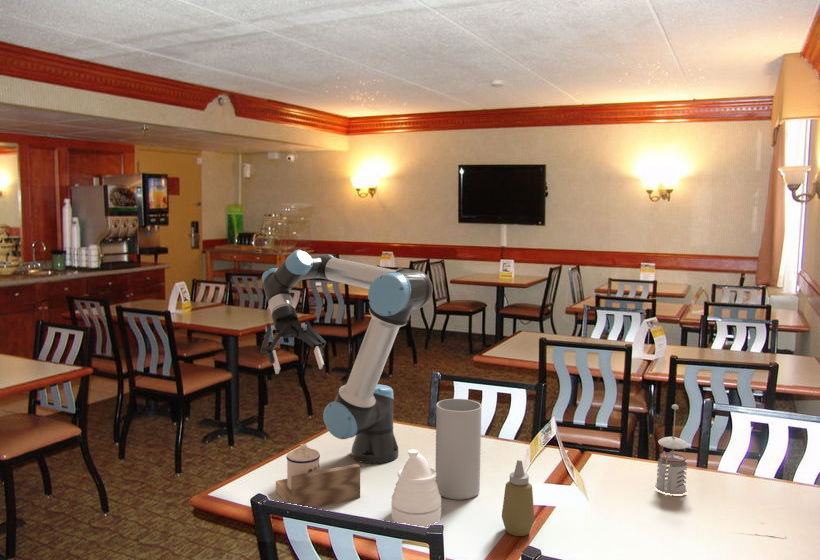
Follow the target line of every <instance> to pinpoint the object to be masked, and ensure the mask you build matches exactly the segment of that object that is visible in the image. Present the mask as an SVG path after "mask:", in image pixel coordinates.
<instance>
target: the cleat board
mask: <svg viewBox="0 0 820 560" xmlns="http://www.w3.org/2000/svg"><path fill="white" fill-rule="evenodd" d="M275 492H276V493H277V494H278V496H281V497H282V498H283V499H284V500H285V501H284V500H283V499H282V498H281V497H280V498H281V499H282V500H283V501H284V503H286V502H287V503H291V504H297V505H302V506H308V507H315V508H319V507H323V506H324V507H325V506H330V505H333V504H338V503H342V502H347V501H352V500H356V499H360V498H361V465H359V464H358V463H353V464H348V465H343V466H337V467H333V468H328V469H323V470H319V471H316V472H311V473H306V474H301V475H295V476H291V490H290V489H289V488H288V486H287V478H284V479H278V480H275ZM287 503H286V504H287ZM315 508H314V509H315Z"/></svg>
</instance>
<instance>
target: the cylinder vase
mask: <svg viewBox="0 0 820 560" xmlns="http://www.w3.org/2000/svg"><path fill="white" fill-rule="evenodd" d="M435 405H436V409H435V412H436V416H435V417H436V419H435V469H434V471H435V472H436V474H437V475H436V478H435V482H436V483H437V485H438V490H439V493H440V495H441V497H443V498H446V499H450V500H456V501H457V500H458V501H459V500H460V501H462V500H468V499H469V500H470V499H472V498H475V497H476V496H478V495H479V493H480V490H481V489H480V487H481V450H482V449H481V446H482V441H481V440H482V404H481V403H480V402H478V401H476V400H472V399H466V398H449V399H448V398H447V399H442V400H439V401H437V403H436V404H435Z"/></svg>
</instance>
